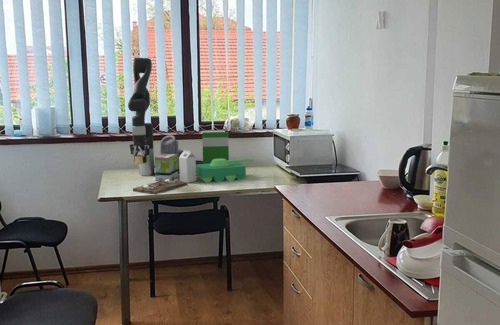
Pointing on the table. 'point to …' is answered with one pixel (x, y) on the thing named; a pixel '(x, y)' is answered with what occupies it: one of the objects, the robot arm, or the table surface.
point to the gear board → (160, 186)
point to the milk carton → (187, 166)
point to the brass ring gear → (139, 159)
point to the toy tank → (222, 170)
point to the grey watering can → (170, 147)
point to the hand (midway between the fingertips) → (140, 162)
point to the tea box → (166, 166)
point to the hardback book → (215, 146)
